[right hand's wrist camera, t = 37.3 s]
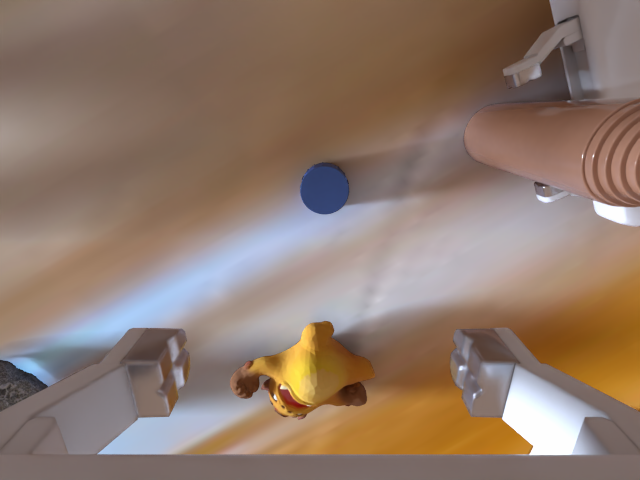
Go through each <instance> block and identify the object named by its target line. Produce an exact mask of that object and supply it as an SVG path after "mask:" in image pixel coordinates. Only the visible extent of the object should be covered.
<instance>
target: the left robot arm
mask: <svg viewBox="0 0 640 480" xmlns="http://www.w3.org/2000/svg"><path fill="white" fill-rule="evenodd" d="M550 5H551V10H552V14H553V19H554V23H555V26H554V27H552V28H550V29H548V30H547V31H545V32H543V33H542V34H541V35H540V36H539V37H538V39H537V40H536V41H535V43H534V44H533V45H532V47H531V48H530V49H529V51H528V52H527V53H526V54H525V56H524V59H522V60H520V61H518V62H516V63H514V64H512V65H510V66H508V67H506V68H504V69H503V73H504V77H505V80H506V84H507V88H508V89H510V88H516V87H519V86H522V85H524V84H526V83H527V82H528V81H531V80H534V79H537V78H539V77H541V76H542V73H541V68H540V64H541V63H542V62H543V60H544V59H545V58H546V57H547V56H548V55H549V53H550V52H551V51H552V50H553V49H557V48H560V51H561V55H562V60H563V65H564V69H565V74H566V78H567V83H568V88H569V92H570V97H571V100H586V99H607V98H628V97H640V0H550ZM534 186H535V190H536V195H537V198H538V200H540V201H542V202H545V203H550V202H554V201H556V200H559V199H561V198H563V197H566V196H568V195H570V196H578V197H582V196H579V195H576V194H573V193H569V192H566V191H563V190H560V189H557V188H554V187H551V186H548V185H545V184H542V183H539V182H535V183H534ZM593 203H594V208H595V211H596V213H597V214H598V215H600V216H602V217H604V218H607V219H609V220H611V221H614V222H617V223H620V224H623V225H627V226H635V227H636V226H640V207H615V206H609V205H606V204H603V203H600V202H597V201H594V200H593ZM529 455H544V454H543V453H541V452H540V451H539V450H538V449H537V448H535V447H533V449H532V451H531V453H530V454H529Z"/></svg>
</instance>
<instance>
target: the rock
mask: <svg viewBox="0 0 640 480" xmlns="http://www.w3.org/2000/svg"><path fill="white" fill-rule="evenodd" d="M47 387H48V386H47V385H46V384H44V383H43V382H41V381H40V380H38V379H37V378H36V376H34V375H32V374H29V373H26V372H24V371H23V370H20V369H18V368H16V366H14V365H13V364H12V363H10V362H8V361H3V360H0V412H1V411H3V410H5V409H7V408H8V407H10V406H12V405H14V404H16V403H18V402H20V401H22V400H24V399H26V398H28V397H30V396H32V395H34V394H36V393H38V392H40V391H42V390H44V389H46V388H47Z"/></svg>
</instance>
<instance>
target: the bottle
mask: <svg viewBox="0 0 640 480" xmlns="http://www.w3.org/2000/svg"><path fill="white" fill-rule="evenodd" d="M464 145H465V148H466V151H467V153H468V154H469V156H470V157H471V158H472V159H474V160H475V161H477V162H479V163H482V164H485V165H488V166H491V167H494V168H497V169H500V170H503V171H506V172H509V173H512V174H515V175H518V176H521V177H524V178H527V179H530V180H533V181H536V182H539V183H542V184H545V185H548V186H551V187H554V188H557V189H560V190H563V191H566V192H569V193H573V194H576V195H579V196H582V197H585V198H588V199H591V200H594V201H597V202H600V203H603V204H606V205H609V206H615V207H640V97H628V98H607V99H586V100H565V101H544V102H523V103H502V104H492V105H488V106H486V107H484V108H482V109H480V110H479V111H478V112H477V113H475V114H474V115H473V117H472V118H471V119H470V121H469V122H468V124H467V126H466V129H465V133H464Z"/></svg>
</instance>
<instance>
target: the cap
mask: <svg viewBox="0 0 640 480" xmlns="http://www.w3.org/2000/svg"><path fill="white" fill-rule="evenodd" d="M348 184H349V183H348V180H347V179H346V176H345V173H343V171H342V170H341V169H340V168H339V167H337V166H335V165H333V164H330V163H323V162H322V163H319V164H316V165H314V166H312V167H311V168H310V169H308V170H307V172H306V173H305V175H304V176H303V178H302V183H301V186H300V193H301V198H302V200H303V202H304V204H305V205H306V206H307V207H308V208H309V209H310V210H312V211H313V212H316V213H319V214H331V213H334V212H336V211H338V210H339V209H340V208H341V207H342V206H343V205H344V204H345V202H346V201H347V198H348V195H349V186H348Z"/></svg>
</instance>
